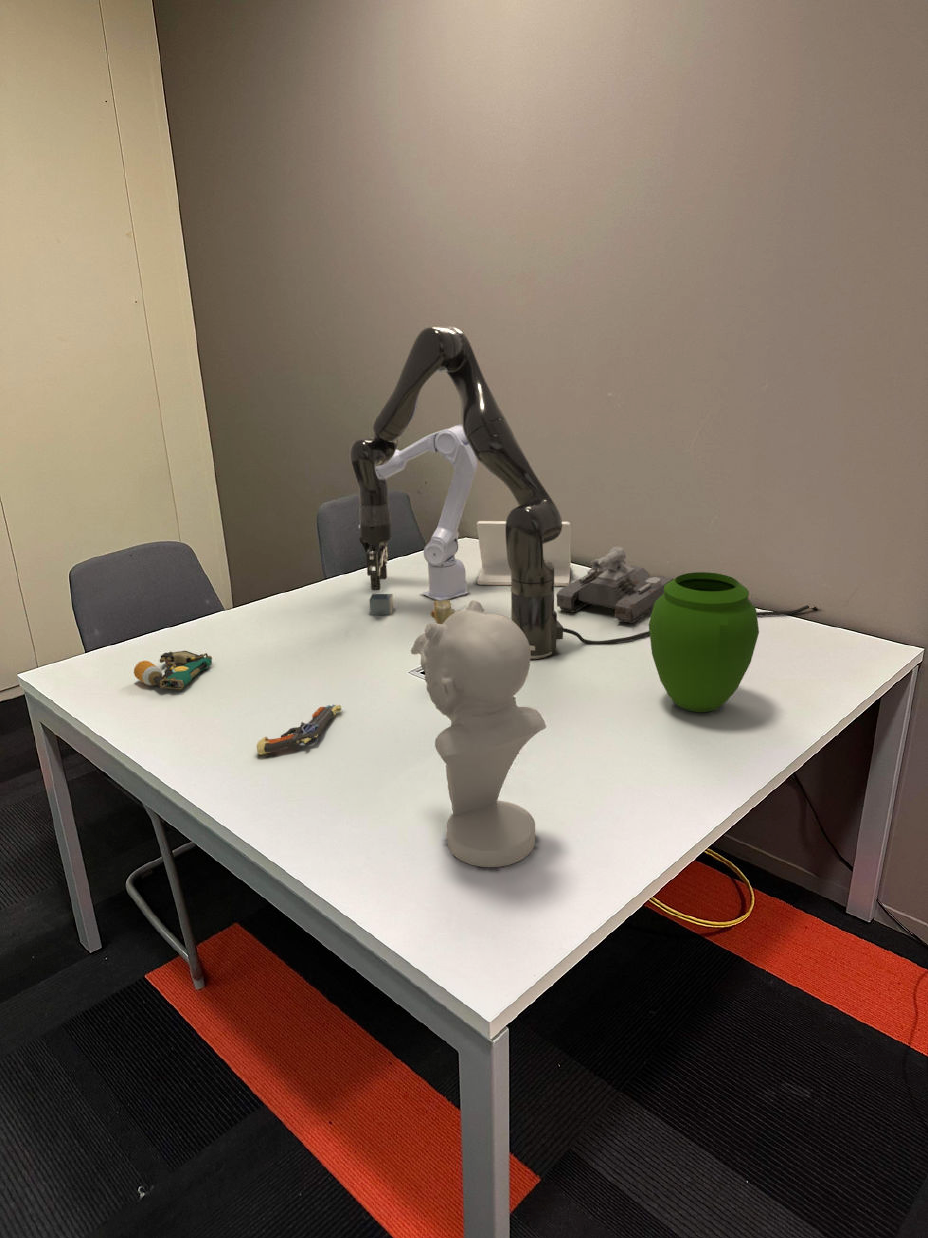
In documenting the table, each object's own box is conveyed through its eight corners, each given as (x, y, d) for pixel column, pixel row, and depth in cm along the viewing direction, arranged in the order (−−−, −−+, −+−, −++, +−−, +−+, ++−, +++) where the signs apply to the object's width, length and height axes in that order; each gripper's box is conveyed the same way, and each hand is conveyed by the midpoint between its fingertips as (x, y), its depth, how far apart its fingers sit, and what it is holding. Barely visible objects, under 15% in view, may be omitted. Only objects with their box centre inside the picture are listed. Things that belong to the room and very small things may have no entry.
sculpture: (458, 662, 183) (456, 596, 178) (460, 676, 176) (457, 608, 171) (431, 663, 183) (428, 597, 177) (431, 677, 176) (428, 609, 171)
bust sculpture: (481, 772, 140) (476, 569, 128) (565, 848, 120) (569, 617, 108) (392, 800, 134) (378, 588, 121) (465, 886, 114) (457, 642, 101)
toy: (603, 584, 229) (605, 530, 224) (673, 597, 218) (677, 540, 213) (555, 612, 210) (556, 553, 205) (630, 627, 199) (633, 566, 194)
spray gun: (177, 659, 191) (231, 671, 185) (120, 684, 176) (176, 698, 171) (176, 641, 190) (230, 653, 184) (118, 665, 175) (174, 678, 169)
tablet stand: (569, 585, 229) (570, 524, 223) (476, 584, 232) (475, 523, 226) (570, 566, 246) (571, 508, 240) (484, 564, 249) (483, 507, 243)
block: (373, 609, 217) (372, 593, 215) (393, 609, 216) (392, 593, 215) (370, 614, 213) (369, 599, 211) (390, 615, 212) (389, 599, 211)
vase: (763, 694, 164) (775, 574, 156) (734, 737, 149) (746, 606, 140) (665, 674, 174) (672, 560, 166) (628, 712, 159) (634, 588, 150)
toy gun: (251, 744, 146) (305, 742, 144) (292, 702, 164) (341, 700, 162) (254, 759, 147) (308, 756, 145) (295, 715, 165) (344, 713, 163)
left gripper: (363, 502, 231) (366, 550, 236) (351, 515, 218) (355, 566, 222) (389, 502, 230) (392, 550, 235) (378, 515, 217) (381, 566, 222)
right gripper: (366, 513, 213) (370, 575, 218) (353, 528, 199) (358, 593, 205) (395, 513, 212) (399, 575, 218) (385, 528, 199) (389, 594, 204)
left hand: (375, 558), depth 229 cm, fingers open, 7 cm apart
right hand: (379, 584), depth 211 cm, fingers open, 8 cm apart
